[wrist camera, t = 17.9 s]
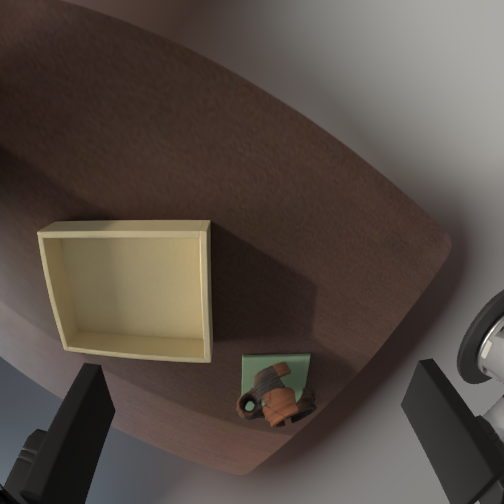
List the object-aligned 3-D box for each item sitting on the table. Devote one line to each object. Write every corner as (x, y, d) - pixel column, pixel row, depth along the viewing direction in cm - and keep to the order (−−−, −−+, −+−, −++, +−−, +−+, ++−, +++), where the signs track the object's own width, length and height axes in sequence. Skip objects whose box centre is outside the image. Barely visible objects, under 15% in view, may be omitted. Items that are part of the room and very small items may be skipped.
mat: (309, 353, 46) (310, 355, 45) (300, 406, 50) (300, 409, 49) (242, 354, 46) (242, 357, 45) (241, 408, 50) (241, 411, 49)
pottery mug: (303, 350, 46) (327, 398, 40) (296, 374, 52) (316, 415, 47) (224, 377, 43) (244, 429, 37) (230, 397, 50) (246, 441, 44)
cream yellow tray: (210, 220, 39) (206, 231, 34) (213, 342, 45) (211, 363, 40) (55, 221, 38) (37, 231, 33) (76, 332, 43) (64, 350, 39)
